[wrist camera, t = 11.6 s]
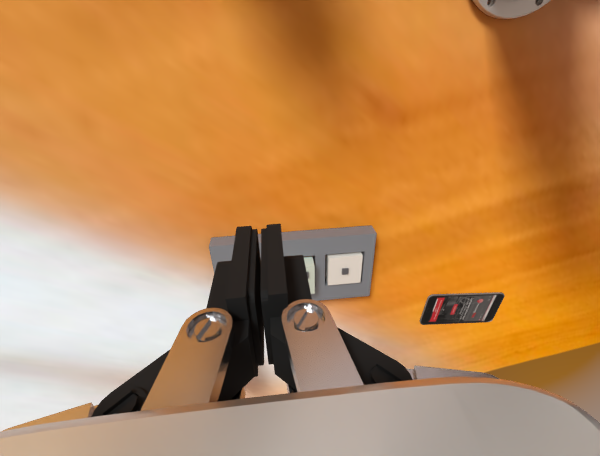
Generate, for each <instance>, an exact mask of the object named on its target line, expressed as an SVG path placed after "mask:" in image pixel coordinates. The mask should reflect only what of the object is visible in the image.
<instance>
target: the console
mask: <svg viewBox="0 0 600 456" xmlns="http://www.w3.org/2000/svg"><path fill="white" fill-rule="evenodd" d="M281 233H282V244H283V254H284V256H294V255H303V256H313V261H314V265H315V294H311V297H312V300H315V301H319V300H330V299H341V298H351V297H362V296H369V295H370V286H371V277H372V269H373V260H374V251H375V242H376V234H377V233H376V232H375V230H374V229H373V227H372V226H358V227H345V228H332V229H319V230H305V231H292V232H281ZM258 240H259V249H260V258H261V234H258ZM234 241H235V236H227V237H214V238H211V241H210V244H209V250H210V254H211V259H212V264H213V269H214V273H215V269H216V265H217V262H221V261H231V260H232V254H233V248H234ZM351 252H361V253H362V255H363V259H362V270H361V281H360V283H349V284H338V285H328V284H327V281H326V277H325V255H327V254H339V253H351Z"/></svg>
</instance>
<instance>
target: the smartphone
mask: <svg viewBox="0 0 600 456" xmlns="http://www.w3.org/2000/svg"><path fill="white" fill-rule="evenodd" d="M503 298H504V294H503V293H466V294H432V295H430V296H429V297H428V298H427V301H426V304H425V307H424V310H423V313H422V316H421V319H420V323H421V324H423V325H426V324H451V323H476V322H490V321H492V320H493V318H494V316H495V314H496V312H497V310H498V308H499V306H500V304H501V302H502V300H503Z"/></svg>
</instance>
